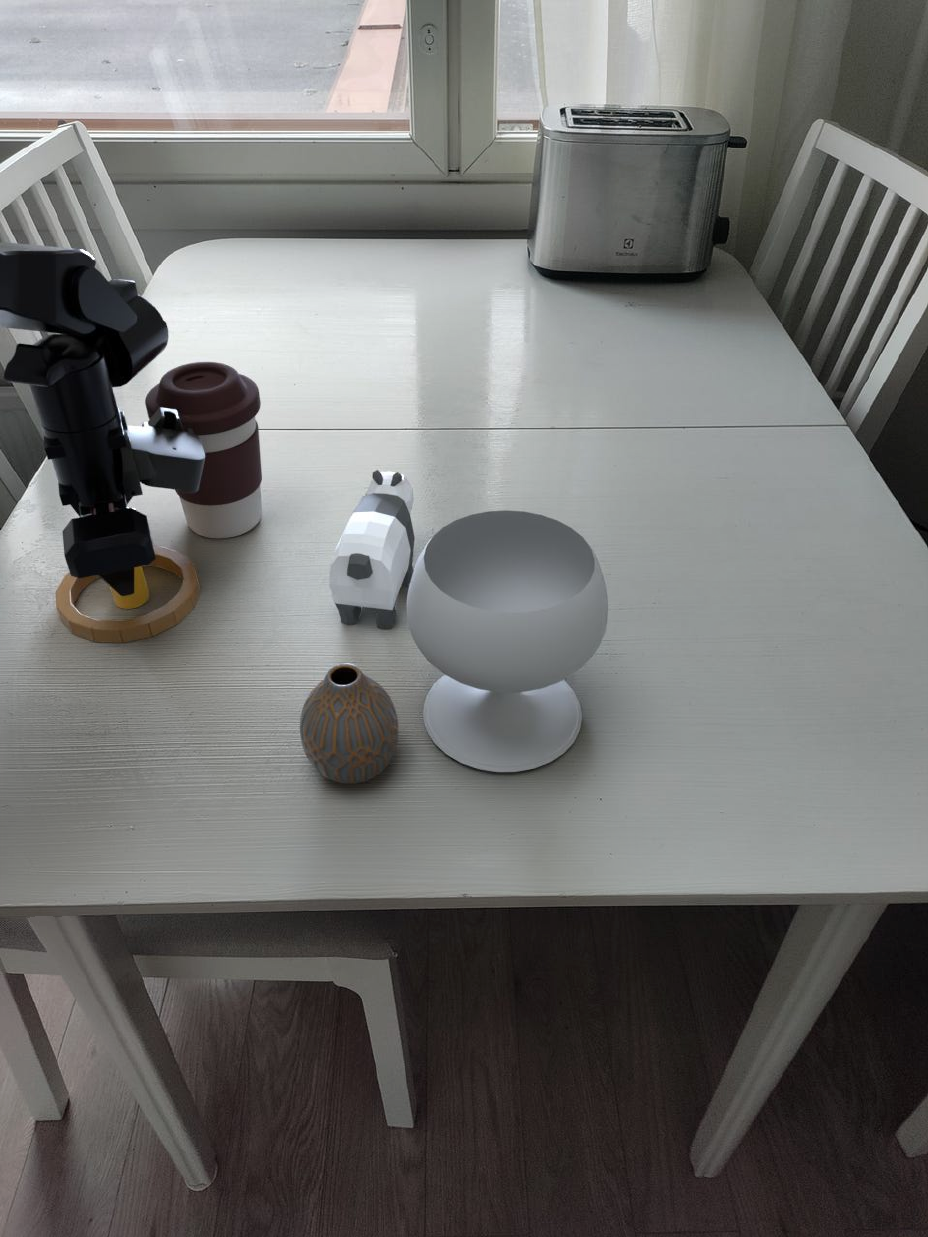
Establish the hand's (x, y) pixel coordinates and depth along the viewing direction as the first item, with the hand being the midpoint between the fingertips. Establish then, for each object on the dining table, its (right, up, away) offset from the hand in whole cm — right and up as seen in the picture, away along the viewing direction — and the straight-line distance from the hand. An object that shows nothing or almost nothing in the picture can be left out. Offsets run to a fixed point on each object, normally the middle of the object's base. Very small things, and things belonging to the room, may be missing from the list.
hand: (125, 577), depth 83 cm
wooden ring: (0, -2, +2) cm, 2 cm away
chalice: (+32, -11, -9) cm, 35 cm away
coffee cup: (+6, +6, +11) cm, 14 cm away
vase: (+21, -14, -13) cm, 29 cm away
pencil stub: (0, -2, +2) cm, 2 cm away
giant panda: (+22, -1, +3) cm, 22 cm away
